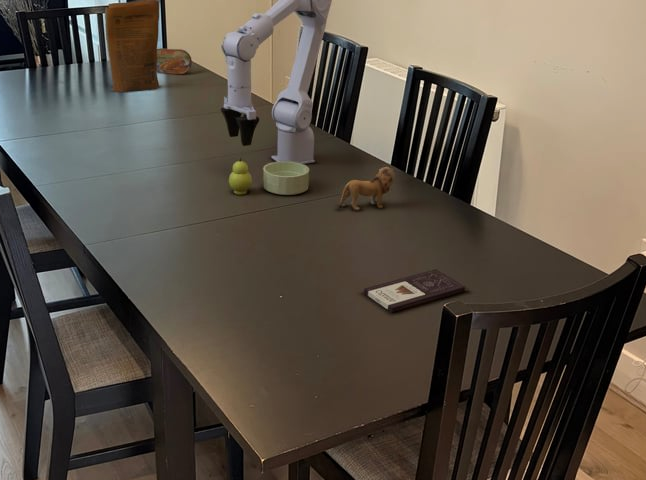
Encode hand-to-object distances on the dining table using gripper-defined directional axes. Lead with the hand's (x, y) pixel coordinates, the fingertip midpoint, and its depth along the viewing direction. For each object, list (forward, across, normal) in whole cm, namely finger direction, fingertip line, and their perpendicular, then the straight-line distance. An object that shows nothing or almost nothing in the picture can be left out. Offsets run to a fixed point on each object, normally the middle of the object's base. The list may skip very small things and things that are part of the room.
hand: (240, 140), depth 209 cm
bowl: (+9, +12, +7) cm, 17 cm away
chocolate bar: (+9, +73, +4) cm, 74 cm away
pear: (+9, +10, -5) cm, 15 cm away
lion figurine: (+10, +30, +19) cm, 37 cm away
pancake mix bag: (+10, -91, +3) cm, 91 cm away
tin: (+10, -109, +22) cm, 111 cm away
